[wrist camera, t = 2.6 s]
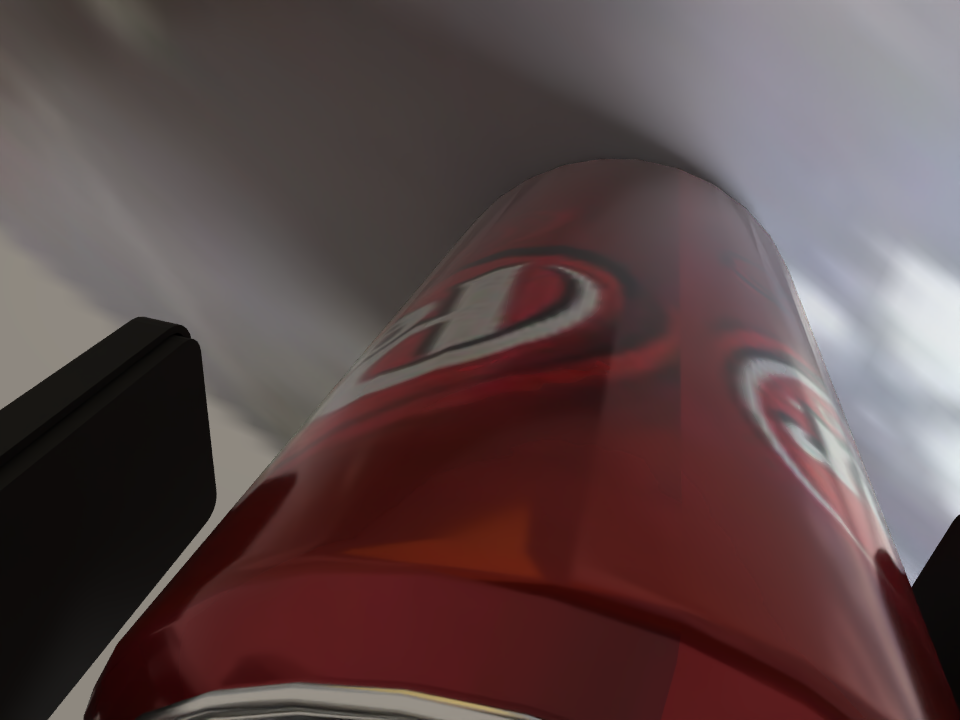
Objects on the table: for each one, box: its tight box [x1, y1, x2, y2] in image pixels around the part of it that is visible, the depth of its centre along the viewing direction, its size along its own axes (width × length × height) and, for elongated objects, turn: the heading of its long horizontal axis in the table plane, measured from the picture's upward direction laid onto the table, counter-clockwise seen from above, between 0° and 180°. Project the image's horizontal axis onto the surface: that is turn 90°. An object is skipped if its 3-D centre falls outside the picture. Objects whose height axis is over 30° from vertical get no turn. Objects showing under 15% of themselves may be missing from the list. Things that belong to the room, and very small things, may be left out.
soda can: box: [84, 159, 960, 720], centre depth 10 cm, size 7×7×12 cm
